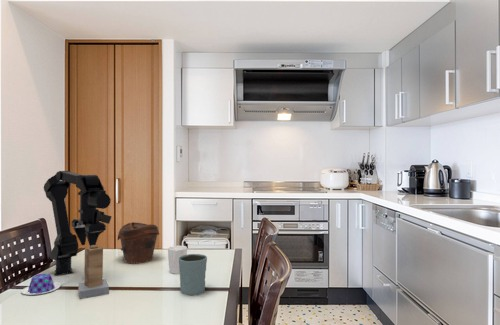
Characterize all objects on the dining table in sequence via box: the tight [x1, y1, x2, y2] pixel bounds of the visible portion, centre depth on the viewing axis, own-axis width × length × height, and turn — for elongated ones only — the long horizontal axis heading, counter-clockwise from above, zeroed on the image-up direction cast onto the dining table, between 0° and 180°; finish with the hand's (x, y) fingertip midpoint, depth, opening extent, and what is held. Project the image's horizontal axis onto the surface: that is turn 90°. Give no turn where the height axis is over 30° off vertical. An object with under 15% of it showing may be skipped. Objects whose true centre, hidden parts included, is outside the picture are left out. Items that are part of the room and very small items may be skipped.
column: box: [83, 244, 104, 288], centre depth 116 cm, size 4×4×14 cm
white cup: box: [167, 245, 188, 275], centre depth 139 cm, size 8×8×10 cm
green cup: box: [179, 253, 208, 296], centre depth 117 cm, size 10×10×12 cm
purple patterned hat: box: [21, 272, 62, 296], centre depth 118 cm, size 12×12×5 cm
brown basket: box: [116, 221, 161, 264], centre depth 156 cm, size 18×20×18 cm
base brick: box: [78, 278, 110, 299], centre depth 116 cm, size 9×9×2 cm
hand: (87, 247), depth 127 cm, fingers open, 9 cm apart
